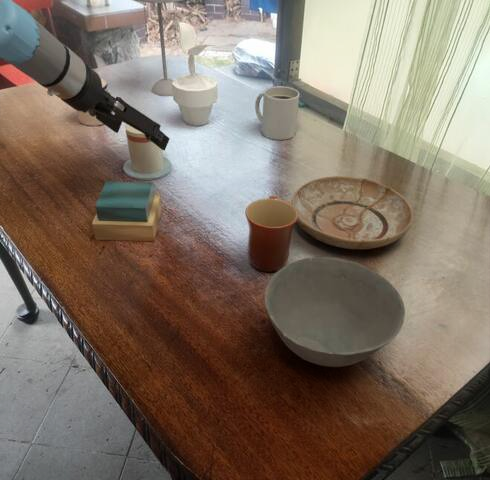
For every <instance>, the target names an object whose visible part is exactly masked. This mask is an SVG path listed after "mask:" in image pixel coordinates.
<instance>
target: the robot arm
mask: <svg viewBox="0 0 490 480" xmlns="http://www.w3.org/2000/svg"><path fill="white" fill-rule="evenodd" d="M0 58H1V59H2V60H3V61H5V62H7V63H9V64H10V65H11V66H12V67H14V68H16V69H17V70H19V71H20V72H21V73H23V74H24V75H26V76H28V77H29V78H30V79H31V80H33V81H35V82H36V83H37V84H39V85H40V86H42V87H43V88H45V89H47V91H46V94H47V95H48V96H50V97H52V96H55V97H57V98H59V99H60V100H61V101H62V102H64V103H65V104H67V105H68V106H69V107H71V108H72V109H73V110H75V111H76V112H77V111H82V112H84V113H87V111H88V112H89V114H90V115H91V116H94V117H95V116H96V119H98V120H99V121H100V122H102V123H103V125H104V126H106V127H107V128H108V129H109V130H111V131H113V132H114V133H116V134H119V131H120V128H121V126H122V123H124V124H126V125H127V124H128V125H129V126H131V127H133V128H135V129H136V130H138V131H140V132H142V133H144V134H145V137H146V140H150V141H152V142H153V143H154V144H155V145H157V146H158V147H159V148H161V149H162V151H163V152H164V151H166V150H167V146H168V144H169V141H170V139H171V138H170V137H168V135H166V134H165V133H164V132H163V131H162V130H161V127H162V126H161V124H160V123H158V122H157V121H155V120H154V119H152V118H150V117H148V116H147V115H145V114H144V113H142V112H141V111H139V110H138V109H136V108H135V107H133V106H132V105H131V104H129V103H127V102H126V101H125V100H123V98H121V97H120V96H116V97H114V96H112V95H111V93H110V92H109V91H108V90H107V91H108V92H107V91H105V90H103V88H102V82H101V78H102V77H100V75H99V73H97V72H96V71H95V70H94V69H93V68H92V67H91V66H89V65H88V64H87V63H86V62H84V61H83V59H82V58H81V57H80V56H79V55H77V54H76V53H75V52H74V51H73V50H71V49H70V48H69V47H68V46H67V45H66V44H64V43H62V42H61V41H60V40H59V39H58V38H56V36H54V35H53V34H52V33H51V32H50V31H49V30H47V28H45V27H44V26H43V25H42V24H41V23H40V22H38V20H37V19H35V18H34V17H33V15H32V14H31V13H30V12H28V11H27V10H26V9H24V8H23V7H22V6H21V5H19V4H17V2H14V1H13V0H0ZM113 113H114V114H113ZM154 121H155V122H154ZM156 122H157V123H156ZM159 129H160V130H159Z"/></svg>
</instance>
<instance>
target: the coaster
mask: <svg viewBox="0 0 490 480" xmlns="http://www.w3.org/2000/svg"><path fill="white" fill-rule="evenodd" d="M163 164H164V166H163V168H162V169H161V170H159V171H157V172H154V173H139V172H136V171H134V170H133V169H132V166H131V159H130V158H129V159H127V160H126V161H125V162H124V164H123V166H122V168H123V172H124V174H125V175H126V176H127V177H129V178H131V179H135V180H137V181H152V180H153V181H154V180H158V179H161V178H164V177H166V176H167V175H169V174H170V173H171V172H172V171H173V170H172V169H173V164H172V162H171V160H170V159H169V158H167V157H165V156H163Z"/></svg>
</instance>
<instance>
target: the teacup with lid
mask: <svg viewBox="0 0 490 480" xmlns="http://www.w3.org/2000/svg"><path fill="white" fill-rule="evenodd" d="M100 78H101V82H102V88H103V90H105V91H107V92H109V91H108V82H107V81H106V80H105V79H104V78H102V77H100ZM76 114H77V118H78V121H79V122H80V124H82V125H85V126H89V127H91V126H93V127H95V126H97V127H98V126H103V125H104V124H103V123H102V122H100V121H99V120H98V119H96V116H95V117H94V116H91V115H90V114H89V112H88V111H87V113H84V112H82V111H77V110H76Z"/></svg>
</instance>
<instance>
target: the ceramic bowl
mask: <svg viewBox="0 0 490 480" xmlns="http://www.w3.org/2000/svg"><path fill="white" fill-rule="evenodd" d="M290 204H291V205H293V206H294V207H295V208H296V209H297V211H298V219H297V221H296V223H297V224H298V226H299V227H300V228H301V229H302V230H303V231H304V232H305V233H307V234H308V235H309V236H311V237H312V238H314V239H316V240H318V241H320V242H322V243H324V244H327V245H330V246H332V247H333V246H334V247H337V248H340V249H341V248H342V249H349V250H371V249H376V248H380V247H381V248H382V247H384V246H388V245H390V244H392V243H394V242H396V241H398V240H399V239H400V238H402V237H403V236H404V235H405V234H407V232H408V231H409V230H410V228H411V227H412V225H413V224H412V223H413V221H414V212H413V208H412V206H411V204H410V203H409V201H408V200H407V199H406V198H405V197H404V196H403V195H402V194H401V193H399V192H398V191H396V190H395V189H393V188H392V187H390V186H388V185H385V184H383V183H380V182H377V181H375V180H371V179H367V178H362V177H356V176H344V175H343V176H341V175H338V176H335V175H333V176H326V177H320V178H316V179H313V180H310V181H308V182H306V183H304V184H303V185H301V186H300V187H299V188H297V189H296V191H295V192H294V193H293V195H292V198H291V202H290Z"/></svg>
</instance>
